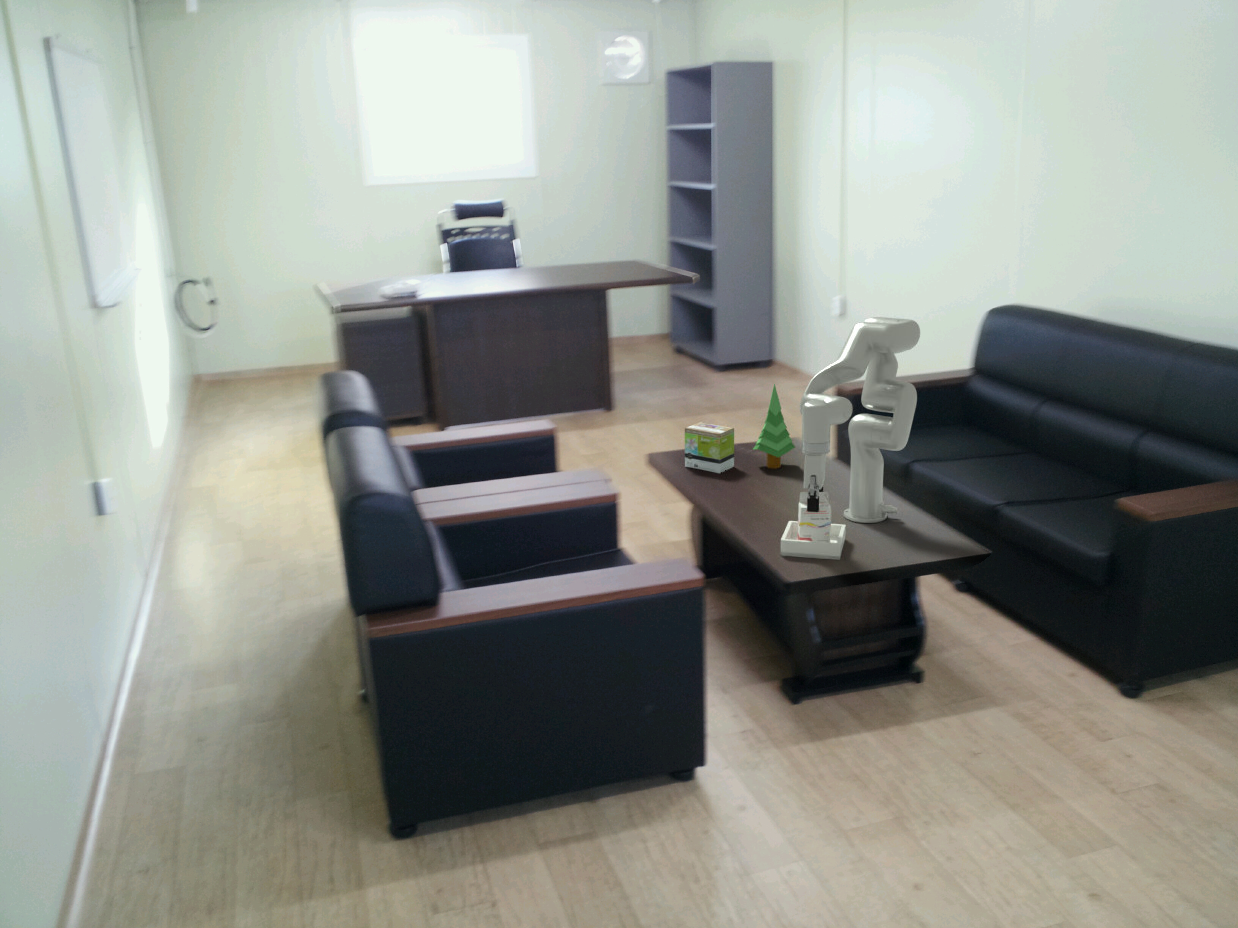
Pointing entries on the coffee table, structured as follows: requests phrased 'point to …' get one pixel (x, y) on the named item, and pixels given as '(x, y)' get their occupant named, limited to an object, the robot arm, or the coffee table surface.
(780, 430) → the decorative tree
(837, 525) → the box
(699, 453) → the tea box
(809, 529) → the ink cartridge box
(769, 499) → the coffee table surface
